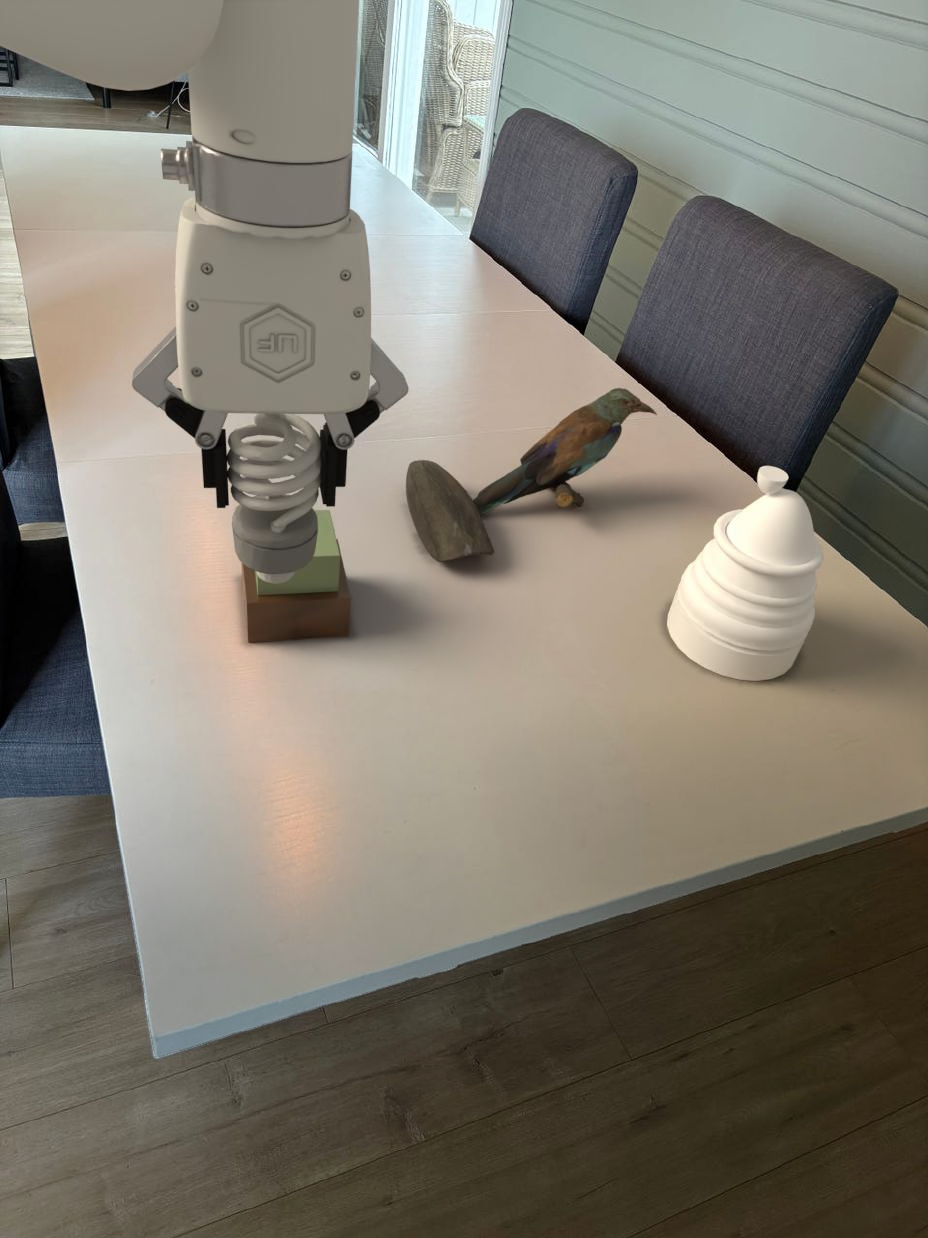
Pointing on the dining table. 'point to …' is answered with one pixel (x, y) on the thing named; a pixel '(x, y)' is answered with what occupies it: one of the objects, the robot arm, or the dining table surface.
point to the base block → (296, 611)
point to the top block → (312, 565)
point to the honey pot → (751, 587)
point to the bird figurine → (565, 452)
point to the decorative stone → (444, 513)
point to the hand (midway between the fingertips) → (275, 492)
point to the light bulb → (275, 495)
